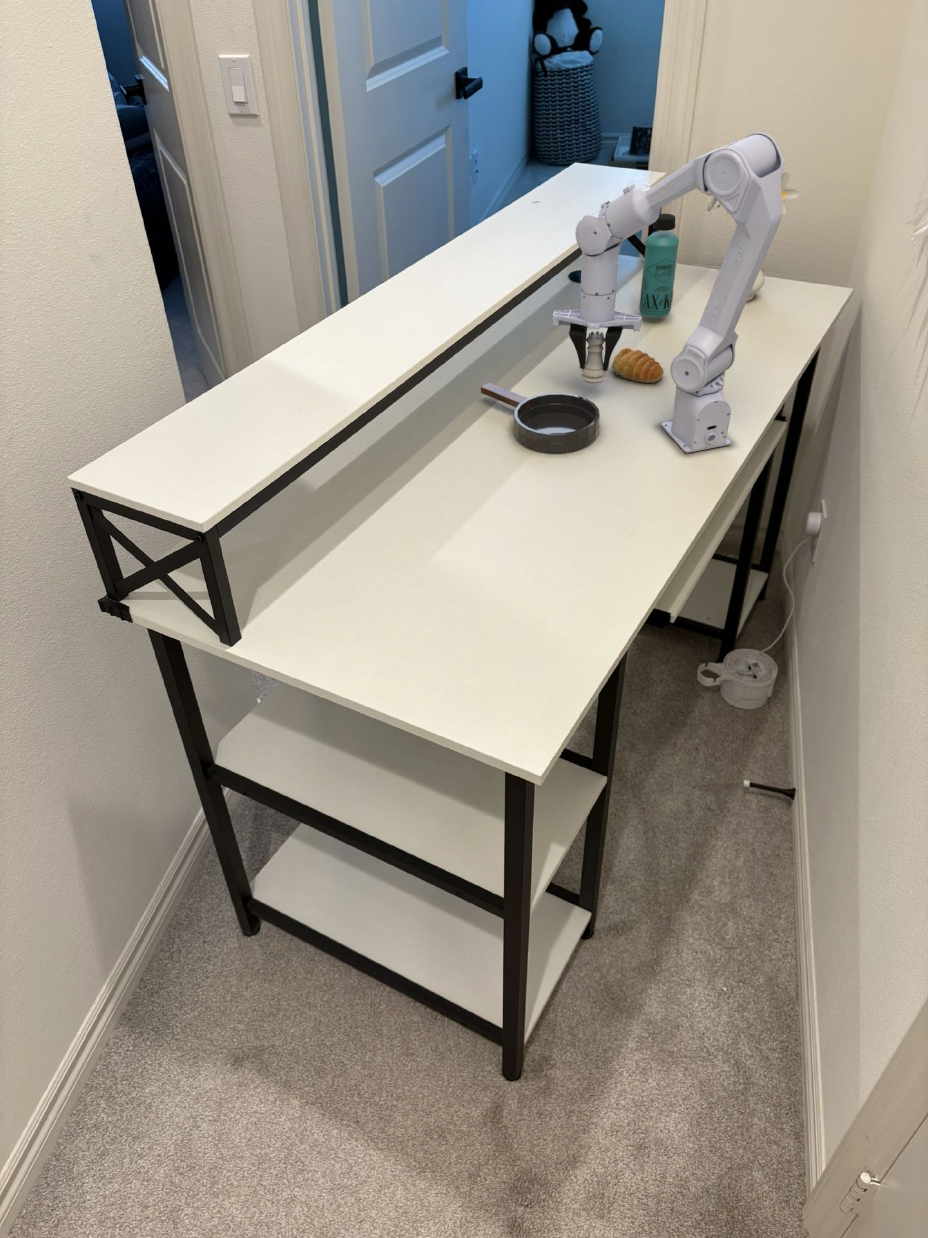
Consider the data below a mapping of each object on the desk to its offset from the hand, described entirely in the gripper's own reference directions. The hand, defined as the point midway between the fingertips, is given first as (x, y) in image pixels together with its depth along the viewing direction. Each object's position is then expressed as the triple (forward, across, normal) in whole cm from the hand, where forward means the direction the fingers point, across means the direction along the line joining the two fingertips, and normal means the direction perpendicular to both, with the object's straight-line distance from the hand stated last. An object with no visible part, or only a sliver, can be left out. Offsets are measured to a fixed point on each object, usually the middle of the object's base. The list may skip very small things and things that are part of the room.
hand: (594, 367), depth 153 cm
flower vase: (+6, +23, +49) cm, 54 cm away
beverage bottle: (+6, +7, +35) cm, 37 cm away
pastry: (+6, +6, +11) cm, 14 cm away
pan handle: (+4, -14, -7) cm, 16 cm away
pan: (+6, -4, -13) cm, 15 cm away
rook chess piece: (+2, 0, 0) cm, 2 cm away
